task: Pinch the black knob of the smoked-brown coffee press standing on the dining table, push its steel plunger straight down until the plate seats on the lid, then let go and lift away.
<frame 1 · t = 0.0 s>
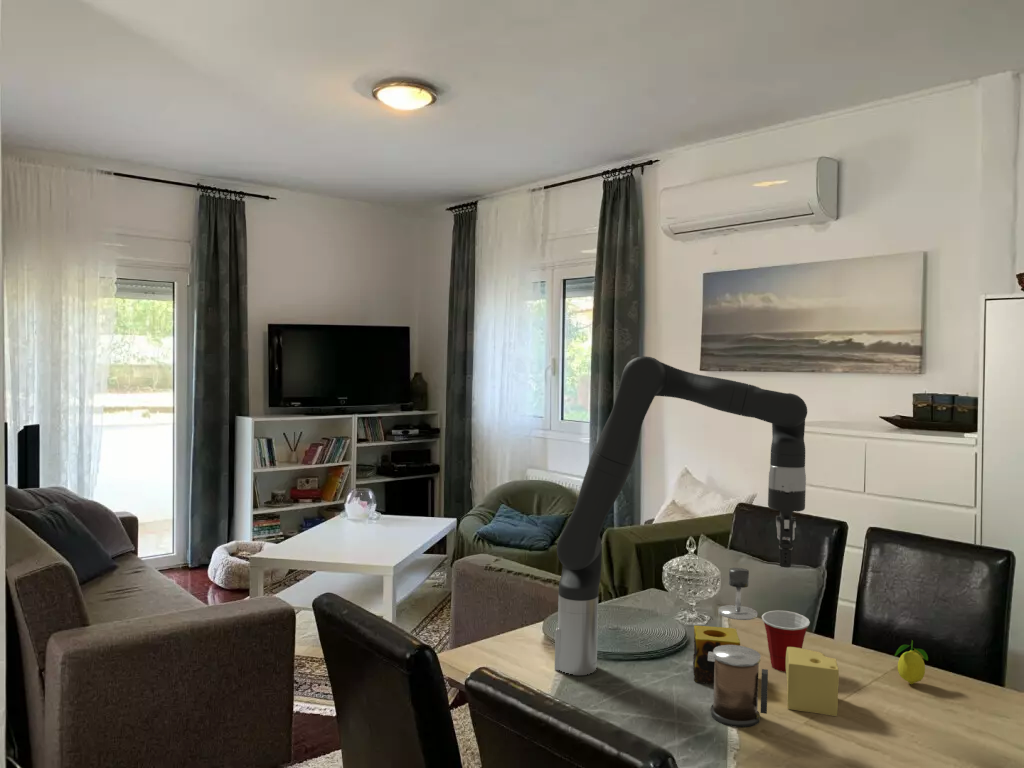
hand: (784, 562, 169), 29 cm above the table, fingers open, 8 cm apart
lemon: (910, 685, 178), on the table
yellow patterned cube: (715, 677, 180), on the table
plunger: (738, 592, 159), point 25 cm above the table, slide at 7.7 cm
cheese: (810, 705, 166), on the table
carafe: (734, 716, 160), on the table
plastic cup: (784, 668, 186), on the table
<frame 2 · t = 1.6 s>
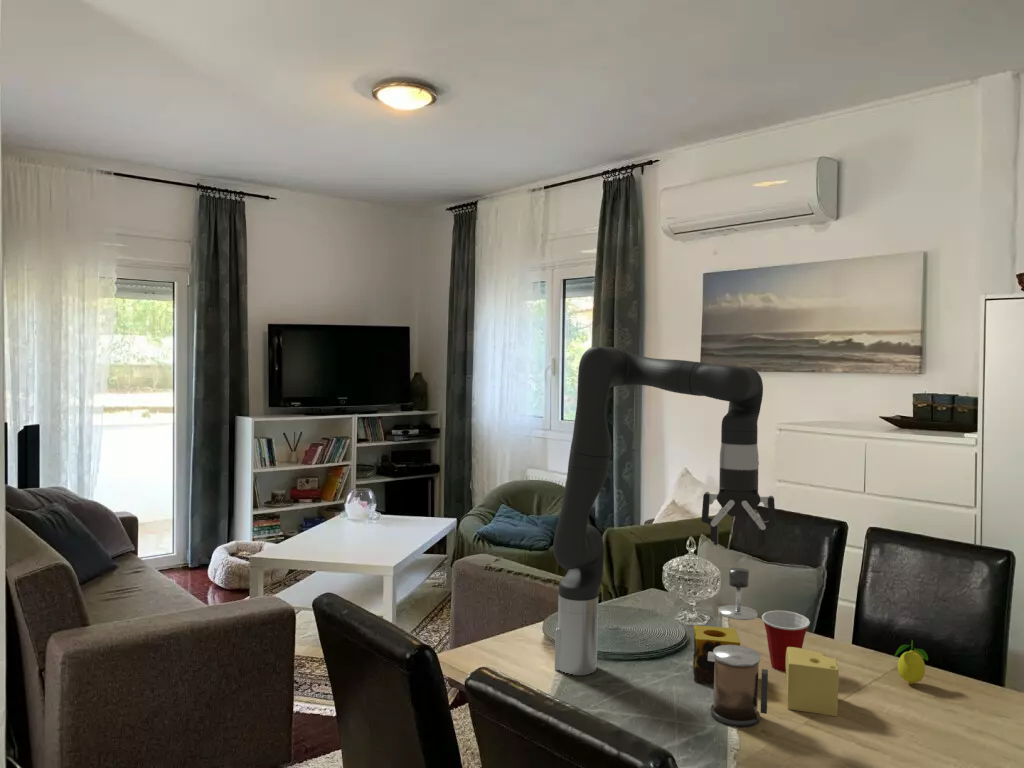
hand: (737, 546, 159), 35 cm above the table, fingers open, 8 cm apart
nothing on the table moved.
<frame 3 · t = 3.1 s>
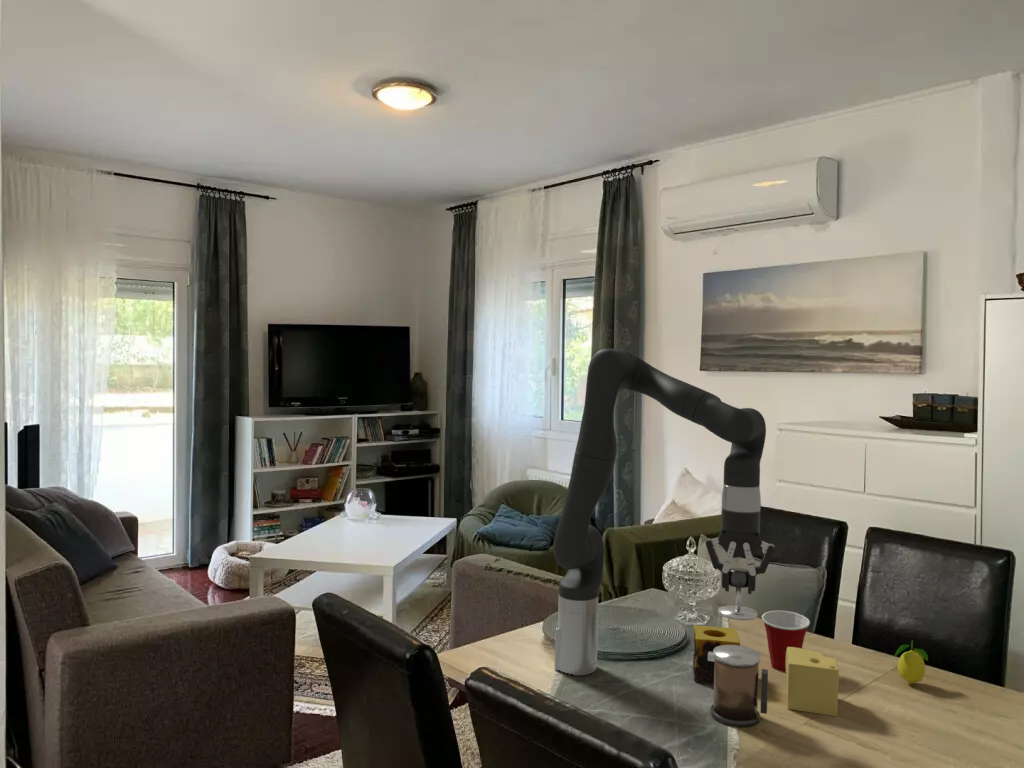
hand: (738, 591, 159), 26 cm above the table, fingers closed on plunger, 3 cm apart
plunger: (738, 592, 159), point 25 cm above the table, slide at 7.7 cm, touching gripper
everything else where it was.
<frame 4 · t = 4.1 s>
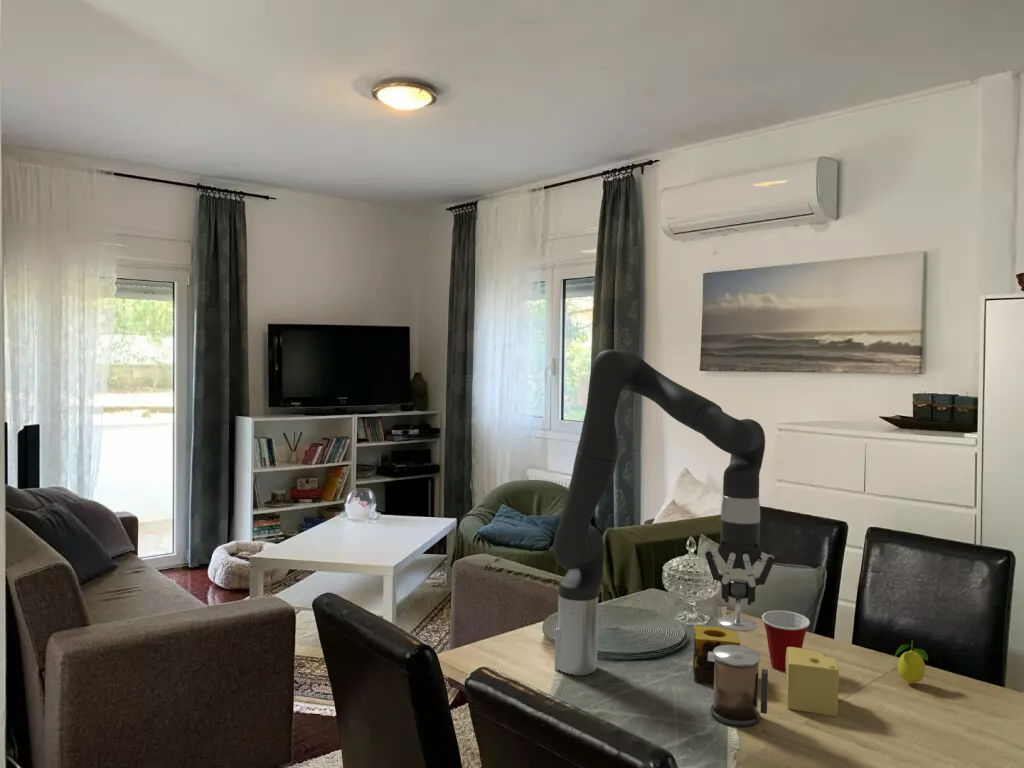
hand: (738, 602, 159), 23 cm above the table, fingers closed on plunger, 3 cm apart
plunger: (738, 603, 159), point 23 cm above the table, slide at 5.4 cm, touching gripper
everything else where it was.
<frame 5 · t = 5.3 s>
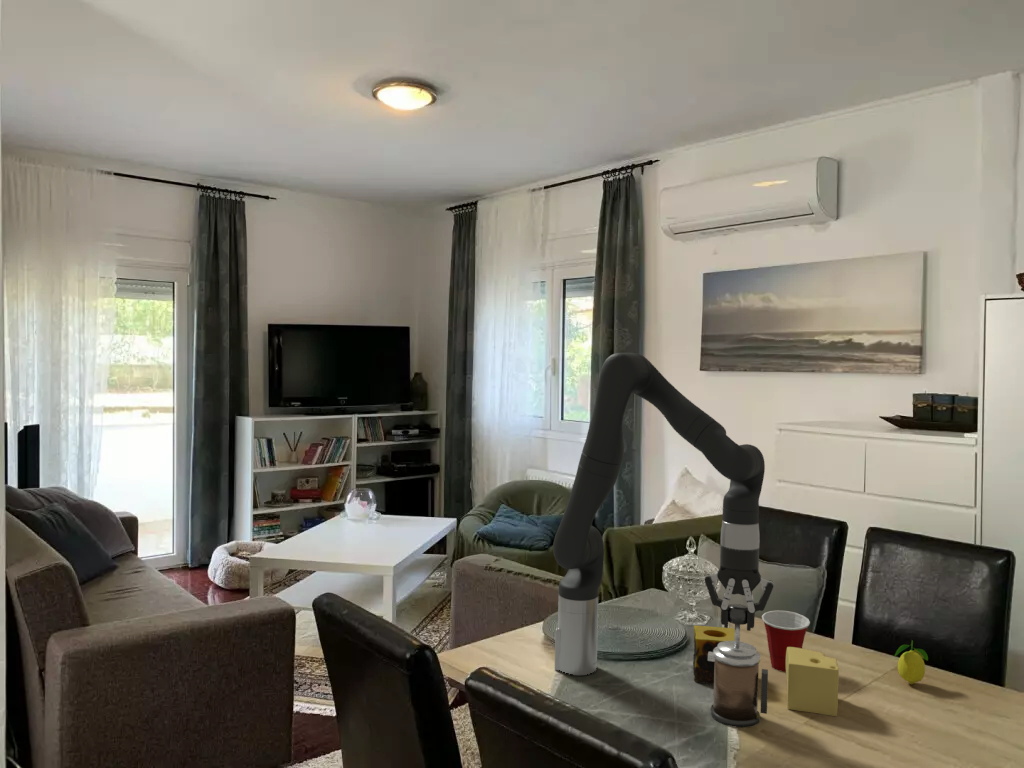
hand: (737, 627, 159), 18 cm above the table, fingers closed on plunger, 3 cm apart
plunger: (737, 628, 159), point 18 cm above the table, slide at 0.2 cm, touching gripper
everything else where it was.
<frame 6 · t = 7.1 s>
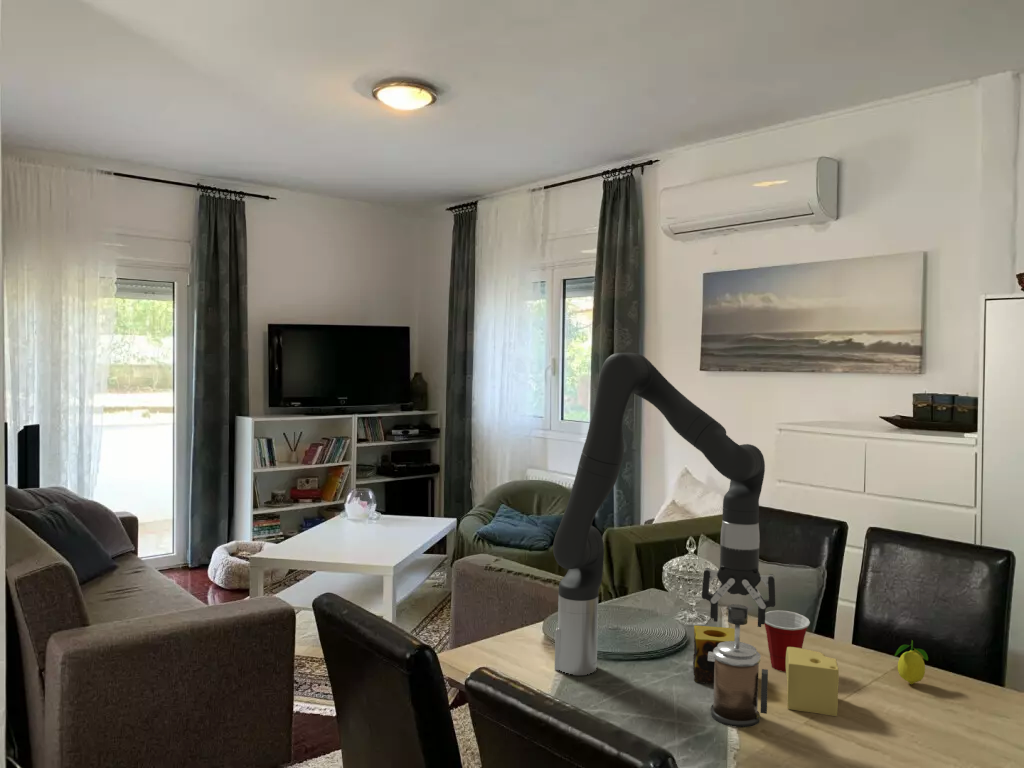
hand: (737, 623, 159), 19 cm above the table, fingers open, 8 cm apart
plunger: (737, 628, 159), point 18 cm above the table, slide at 0.2 cm
everything else where it was.
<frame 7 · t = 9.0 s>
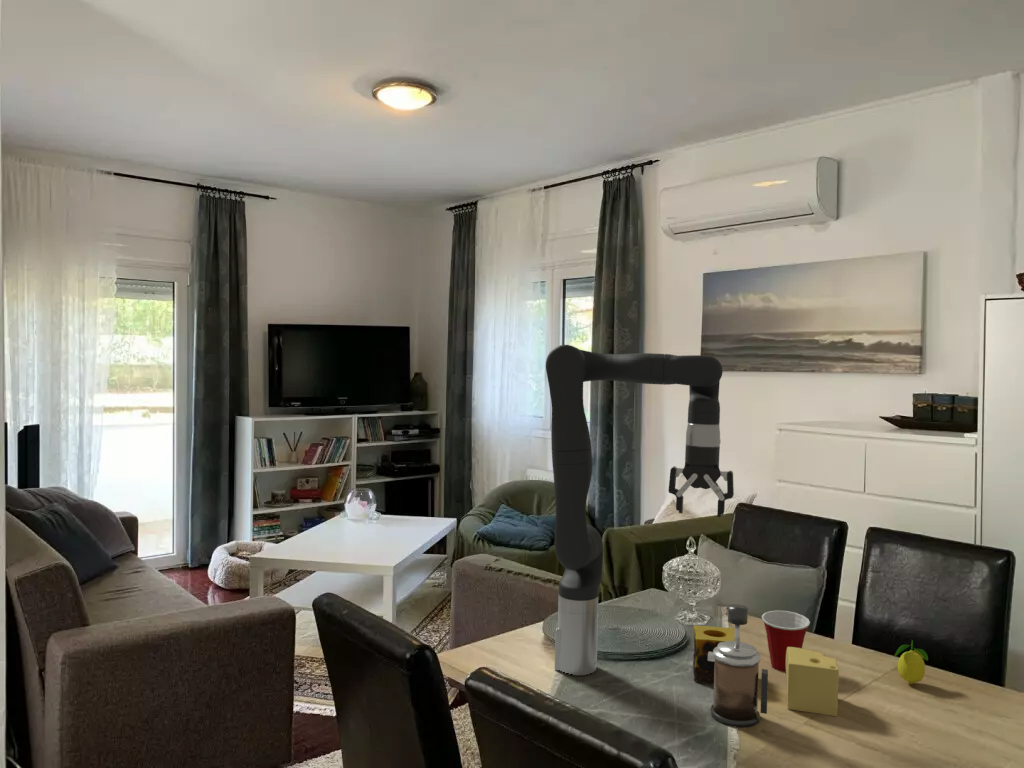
hand: (699, 514, 178), 37 cm above the table, fingers open, 8 cm apart
nothing on the table moved.
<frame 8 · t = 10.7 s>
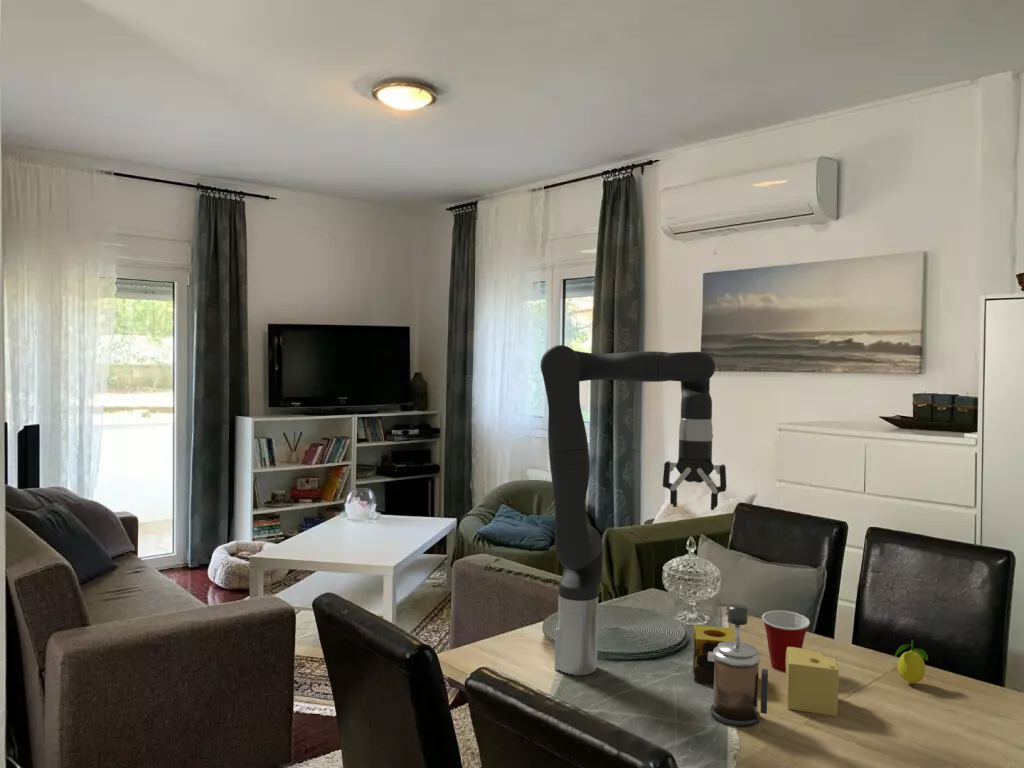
hand: (693, 507, 182), 38 cm above the table, fingers open, 8 cm apart
nothing on the table moved.
at the end: plunger slide at 0.2 cm; the gripper is holding nothing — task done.
